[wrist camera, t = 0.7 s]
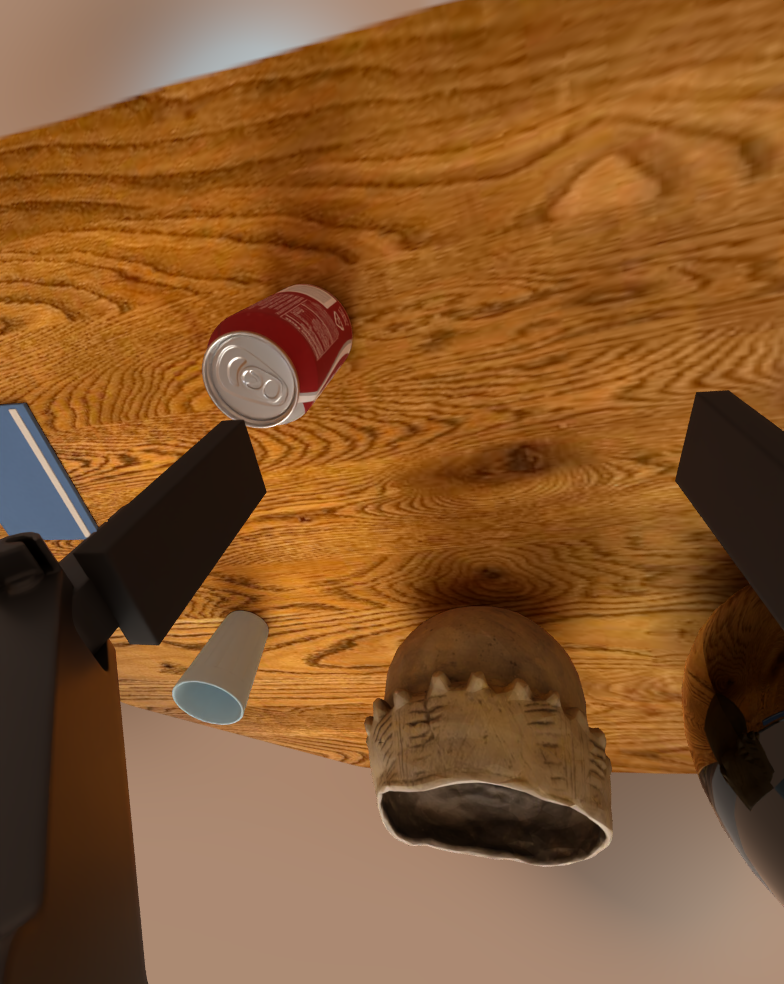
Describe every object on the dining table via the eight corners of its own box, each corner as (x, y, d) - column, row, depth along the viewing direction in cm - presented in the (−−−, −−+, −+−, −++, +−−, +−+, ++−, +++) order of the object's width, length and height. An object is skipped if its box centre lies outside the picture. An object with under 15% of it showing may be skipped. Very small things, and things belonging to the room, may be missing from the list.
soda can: (285, 264, 33) (206, 293, 23) (369, 311, 34) (327, 359, 24) (258, 346, 36) (179, 403, 26) (334, 387, 37) (286, 457, 27)
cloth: (-77, 410, 45) (-82, 412, 44) (26, 402, 42) (21, 404, 42) (15, 538, 53) (11, 540, 53) (104, 537, 51) (101, 540, 50)
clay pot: (542, 703, 56) (574, 915, 40) (375, 668, 57) (337, 862, 40) (610, 585, 45) (696, 814, 28) (399, 543, 45) (360, 742, 29)
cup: (250, 596, 53) (207, 674, 44) (290, 636, 56) (257, 717, 47) (205, 613, 56) (157, 690, 47) (245, 651, 59) (207, 729, 50)
